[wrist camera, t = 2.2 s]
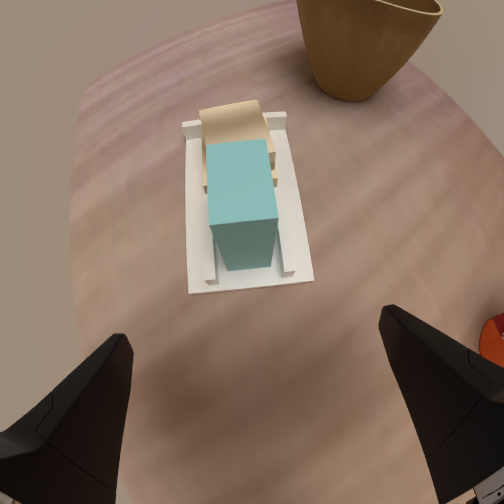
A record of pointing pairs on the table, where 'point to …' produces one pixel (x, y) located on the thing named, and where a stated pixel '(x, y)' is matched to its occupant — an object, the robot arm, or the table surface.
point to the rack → (288, 229)
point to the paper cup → (493, 340)
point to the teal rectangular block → (242, 203)
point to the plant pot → (362, 41)
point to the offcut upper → (236, 125)
